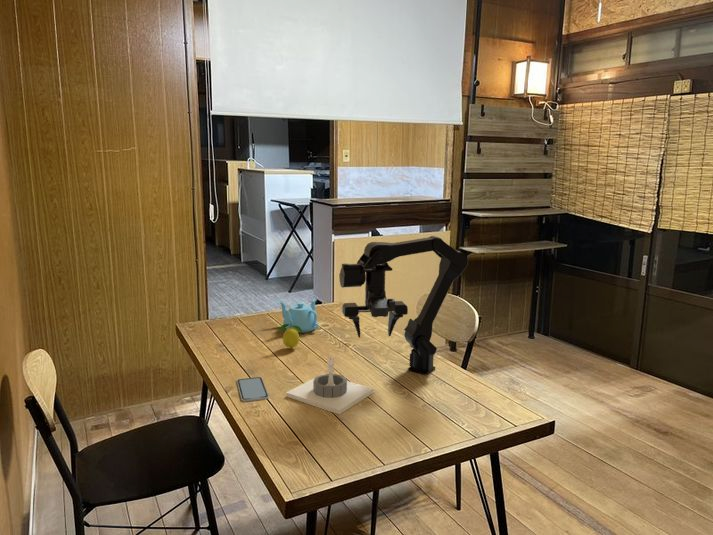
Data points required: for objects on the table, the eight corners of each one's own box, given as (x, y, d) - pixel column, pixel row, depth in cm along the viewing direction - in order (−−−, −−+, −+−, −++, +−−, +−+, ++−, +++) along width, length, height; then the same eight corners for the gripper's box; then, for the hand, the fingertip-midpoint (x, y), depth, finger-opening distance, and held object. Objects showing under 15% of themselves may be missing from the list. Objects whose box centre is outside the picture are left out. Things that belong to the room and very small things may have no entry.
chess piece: (325, 385, 150) (325, 351, 148) (342, 387, 149) (342, 353, 147) (319, 392, 145) (319, 357, 143) (336, 395, 144) (336, 360, 142)
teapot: (321, 334, 199) (322, 307, 197) (281, 336, 196) (281, 309, 194) (316, 322, 213) (316, 297, 211) (278, 324, 210) (278, 299, 208)
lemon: (278, 351, 180) (278, 322, 178) (284, 345, 186) (284, 317, 184) (297, 352, 179) (296, 324, 177) (303, 347, 184) (302, 319, 182)
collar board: (373, 392, 148) (373, 378, 148) (339, 414, 136) (339, 399, 135) (322, 377, 158) (322, 364, 158) (286, 396, 146) (286, 382, 145)
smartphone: (261, 376, 158) (269, 396, 144) (261, 379, 158) (269, 399, 144) (236, 379, 156) (241, 400, 142) (236, 382, 156) (241, 403, 142)
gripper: (348, 293, 146) (347, 347, 149) (413, 291, 150) (412, 344, 153) (342, 284, 157) (341, 334, 160) (403, 282, 160) (401, 332, 163)
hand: (374, 336), depth 159 cm, fingers open, 9 cm apart
